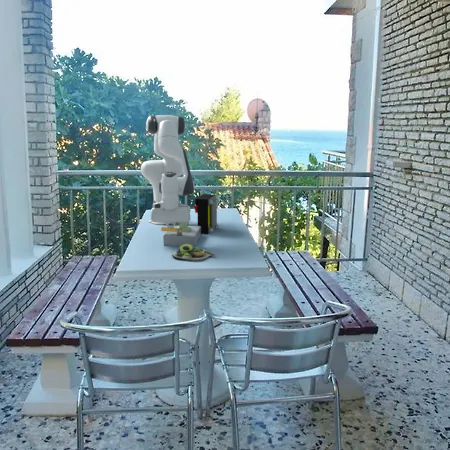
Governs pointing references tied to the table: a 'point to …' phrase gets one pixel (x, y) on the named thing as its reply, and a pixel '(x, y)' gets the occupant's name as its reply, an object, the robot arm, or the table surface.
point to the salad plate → (191, 253)
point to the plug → (184, 226)
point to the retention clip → (173, 230)
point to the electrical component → (206, 212)
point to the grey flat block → (182, 237)
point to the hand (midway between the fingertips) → (171, 230)
